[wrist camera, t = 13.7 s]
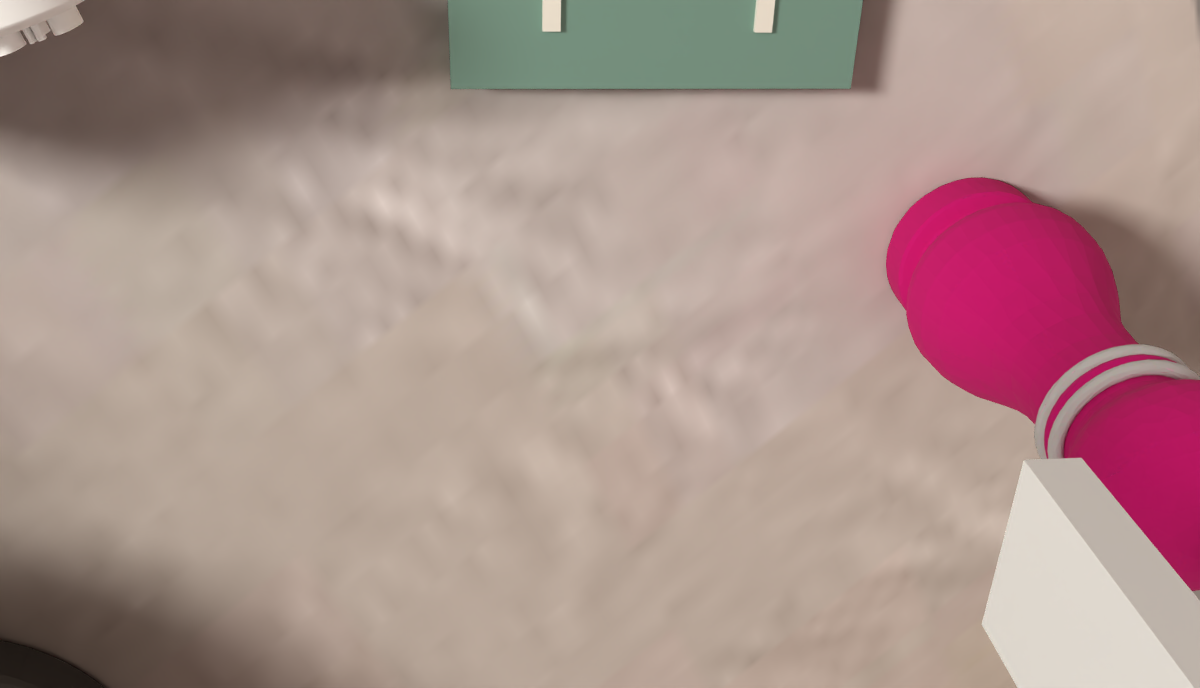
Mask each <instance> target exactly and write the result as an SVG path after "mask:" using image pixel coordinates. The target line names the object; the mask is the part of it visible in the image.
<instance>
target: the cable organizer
mask: <svg viewBox="0 0 1200 688" xmlns="http://www.w3.org/2000/svg"><path fill="white" fill-rule="evenodd" d="M83 1H84V0H0V57H1V56H4V55H7V54H10V53H12V52H15V51H17V50H19V49H20V48H22V47H24V46H25V45H26V42H25V40H24V38H23V36H22V35H21V33H20V30H23V32H24V34H25V36H26V38H27V39H28V41H29V43H30V44H33V43H35V42H36V41H42V40H45V39H46V38H47V36H46V34H47V33H48V32H50V31H51V30H52V32H53V34H54V35H55V36H57V35H61V34H63V33H66V32H68V31H71V30H72V29H74V28H76V27H78V26H79V25H80V24H82V23H83V22H84V21H83V19H82V17H81V15H80V13H79V11H78V9H77V7H76V5H78V4H79V3H81V2H83ZM45 20H46V21H47V23H48V24H49V26H50V28H51V30H50V28H49V26H48V25H47V23H46V21H45Z"/></svg>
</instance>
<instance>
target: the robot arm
mask: <svg viewBox="0 0 1200 688" xmlns="http://www.w3.org/2000/svg"><path fill="white" fill-rule="evenodd" d="M982 626H983V627H984V629H985V631H986V633H987V635H988V636H989V638H990V640H991V642H992V643H993V645H994V647H995V649H996V650H997V652H998V654H999V656H1000V658H1001V659H1002V661H1003V663H1004V665H1005V666H1006V668H1007V670H1008V672H1009V673H1010V675H1011V677H1012V679H1013V680H1014V682H1015V684H1016V686H1017V688H1200V601H1199V599H1198V598H1197V597H1196V596H1195V594H1194V593H1193V592H1192V591H1191V590H1190V588H1189V587H1188V586H1187V585H1186V584H1185V582H1184V581H1183V580H1182V579H1181V577H1180V576H1179V575H1178V574H1177V573H1176V571H1175V570H1174V569H1173V568H1172V567H1171V565H1170V564H1169V563H1168V562H1167V561H1166V559H1165V558H1164V557H1163V556H1162V554H1161V553H1160V552H1159V551H1158V550H1157V548H1156V547H1155V546H1154V545H1153V544H1152V542H1151V541H1150V540H1149V539H1148V538H1147V536H1146V535H1145V534H1144V533H1143V532H1142V530H1141V529H1140V528H1139V527H1138V525H1137V524H1136V523H1135V522H1134V521H1133V519H1132V518H1131V517H1130V516H1129V515H1128V513H1127V512H1126V511H1125V510H1124V509H1123V507H1122V506H1121V505H1120V504H1119V502H1118V501H1117V500H1116V499H1115V498H1114V496H1113V495H1112V494H1111V493H1110V492H1109V490H1108V489H1107V488H1106V487H1105V486H1104V484H1103V483H1102V482H1101V481H1100V479H1099V478H1098V477H1097V476H1096V475H1095V473H1094V472H1093V471H1092V470H1091V469H1090V467H1089V466H1088V465H1087V464H1086V463H1085V461H1084V460H1083V459H1082V458H1060V459H1033V460H1024V462H1023V465H1022V469H1021V473H1020V477H1019V481H1018V485H1017V489H1016V493H1015V497H1014V501H1013V505H1012V508H1011V512H1010V516H1009V520H1008V524H1007V528H1006V532H1005V536H1004V540H1003V544H1002V547H1001V551H1000V555H999V559H998V563H997V567H996V571H995V575H994V579H993V583H992V587H991V590H990V594H989V598H988V602H987V606H986V610H985V614H984V618H983V622H982ZM0 688H104V687H103V686H101V685H100V684H99V683H98V682H96V681H95V680H94V679H92V678H91V677H89V676H88V675H86V674H85V673H83V672H81V671H80V670H78V669H76V668H75V667H73V666H71V665H69V664H67V663H65V662H63V661H61V660H59V659H57V658H55V657H52V656H50V655H47V654H45V653H42V652H39V651H36V650H34V649H31V648H27V647H24V646H21V645H17V644H13V643H9V642H4V641H0Z"/></svg>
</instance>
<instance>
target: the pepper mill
mask: <svg viewBox="0 0 1200 688" xmlns="http://www.w3.org/2000/svg"><path fill="white" fill-rule="evenodd" d="M886 268H887V277H888V280H889V284H890V286H891V289H892V291H893V292H894V294H895V295H896V297H897V299H898V300H899V301H900V303H901V304H902V305H903V307H904V308H905V310H906V311H907V314H906V315H907V320H908V326H909V329H910V332H911V334H912V337H913V340H914V342H915V344H916V346H917V348H918V349H919V351H920V352H921V354H922V355H923V356H924V357H925V358H926V359H927V360H928V361H929V362H930V363H931V364H932V366H933V367H934V368H935V369H936V370H937V371H938V372H939V373H940V374H941V375H942V376H943V377H945V378H946V379H947V380H949V381H950V382H951V383H953V384H955V385H957V386H958V387H960V388H962V389H964V390H965V391H967V392H969V393H971V394H973V395H975V396H977V397H980V398H983V399H986V400H989V401H992V402H995V403H998V404H1001V405H1004V406H1007V407H1010V408H1012V409H1015V410H1018V411H1020V412H1021V413H1023V414H1024V415H1026V416H1027V417H1028V418H1029V419H1030V420H1031V421H1032V422H1033V423H1034V424H1035V431H1034V438H1035V444H1036V448H1037V451H1038V454H1039V456H1040V458H1041V459H1060V458H1082V459H1083V460H1084V461H1085V463H1086V464H1087V465H1088V466H1089V467H1090V469H1091V470H1092V471H1093V472H1094V473H1095V475H1096V476H1097V477H1098V478H1099V479H1100V481H1101V482H1102V483H1103V484H1104V486H1105V487H1106V488H1107V489H1108V490H1109V492H1110V493H1111V494H1112V495H1113V496H1114V498H1115V499H1116V500H1117V501H1118V502H1119V504H1120V505H1121V506H1122V507H1123V509H1124V510H1125V511H1126V512H1127V513H1128V515H1129V516H1130V517H1131V518H1132V519H1133V521H1134V522H1135V523H1136V524H1137V525H1138V527H1139V528H1140V529H1141V530H1142V532H1143V533H1144V534H1145V535H1146V536H1147V538H1148V539H1149V540H1150V541H1151V542H1152V544H1153V545H1154V546H1155V547H1156V548H1157V550H1158V551H1159V552H1160V553H1161V554H1162V556H1163V557H1164V558H1165V559H1166V561H1167V562H1168V563H1169V564H1170V565H1171V567H1172V568H1173V569H1174V570H1175V571H1176V573H1177V574H1178V575H1179V576H1180V577H1181V579H1182V580H1183V581H1184V582H1185V584H1186V585H1187V586H1188V587H1189V588H1190V590H1191V591H1196V590H1200V376H1198V375H1197V374H1196V373H1195V372H1194V371H1192V370H1191V369H1189V368H1188V367H1187V365H1186V364H1185V363H1184V362H1183V361H1182V360H1181V359H1180V358H1179V357H1177V356H1176V355H1174V354H1173V353H1172V352H1169V351H1167V350H1165V349H1162V348H1159V347H1156V346H1151V345H1145V344H1138V343H1137V342H1136V341H1135V340H1134V339H1133V337H1132V336H1131V335H1130V334H1129V333H1128V332H1127V330H1126V329H1125V328H1124V326H1123V324H1122V322H1121V317H1120V305H1119V297H1118V291H1117V287H1116V284H1115V280H1114V276H1113V272H1112V270H1111V267H1110V265H1109V263H1108V261H1107V259H1106V257H1105V254H1104V252H1103V250H1102V249H1101V248H1100V246H1099V245H1098V244H1097V242H1096V241H1095V240H1094V239H1093V238H1092V237H1091V235H1090V234H1089V233H1088V232H1087V231H1086V230H1085V229H1084V228H1083V227H1082V226H1081V225H1080V224H1079V223H1078V222H1076V221H1075V220H1074V219H1073V218H1071V217H1070V216H1068V215H1066V214H1064V213H1062V212H1060V211H1058V210H1057V209H1055V208H1052V207H1048V206H1044V205H1040V204H1036V203H1033V202H1032V201H1030V200H1029V199H1028V198H1027V197H1026V196H1025V195H1024V194H1023V193H1021V192H1020V191H1019V190H1017V189H1016V188H1014V187H1013V186H1011V185H1009V184H1006V183H1004V182H1001V181H999V180H994V179H988V178H966V179H961V180H957V181H954V182H951V183H948V184H945V185H943V186H940V187H938V188H937V189H935V190H933V191H932V192H930V193H928V194H927V195H925V196H924V197H922V198H921V199H920V200H919V201H917V202H916V203H915V204H914V205H913V206H912V207H911V208H910V209H909V210H908V211H907V213H906V214H905V215H904V217H903V218H902V219H901V221H900V222H899V224H898V225H897V227H896V228H895V230H894V233H893V235H892V238H891V241H890V244H889V247H888V251H887V260H886Z"/></svg>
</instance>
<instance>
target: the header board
mask: <svg viewBox="0 0 1200 688" xmlns="http://www.w3.org/2000/svg"><path fill="white" fill-rule="evenodd" d="M862 3H863V0H448V23H449V52H450V81H451V89H851V82H852V75H853V68H854V61H855V54H856V46H857V39H858V32H859V25H860V18H861V11H862Z"/></svg>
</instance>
